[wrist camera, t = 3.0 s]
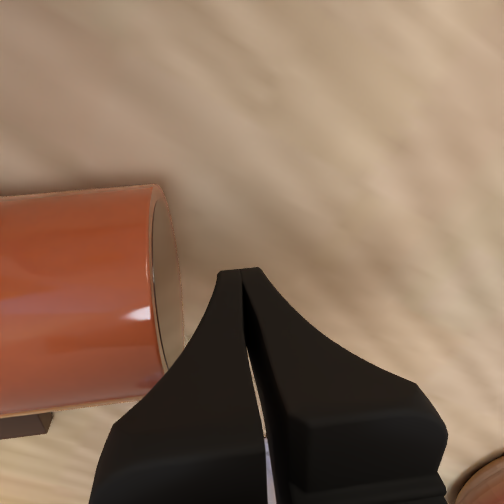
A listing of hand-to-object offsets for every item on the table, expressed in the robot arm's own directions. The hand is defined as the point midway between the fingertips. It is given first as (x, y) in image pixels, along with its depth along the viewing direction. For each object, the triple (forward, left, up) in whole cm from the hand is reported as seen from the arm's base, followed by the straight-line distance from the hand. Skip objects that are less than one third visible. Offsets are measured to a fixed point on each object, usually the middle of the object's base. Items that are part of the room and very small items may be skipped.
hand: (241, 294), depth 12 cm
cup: (0, +6, -4) cm, 8 cm away
